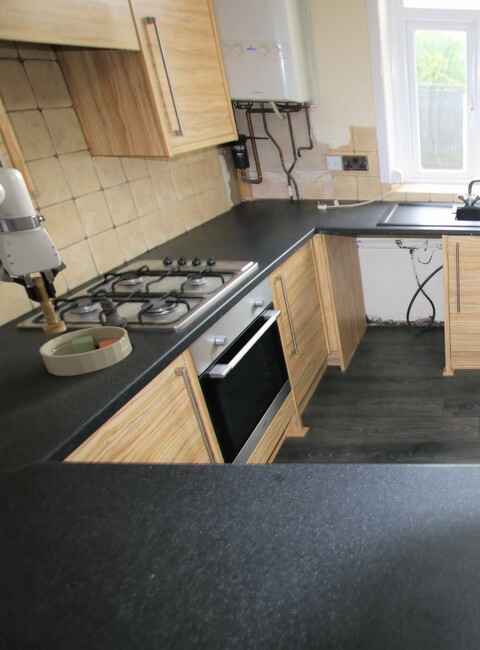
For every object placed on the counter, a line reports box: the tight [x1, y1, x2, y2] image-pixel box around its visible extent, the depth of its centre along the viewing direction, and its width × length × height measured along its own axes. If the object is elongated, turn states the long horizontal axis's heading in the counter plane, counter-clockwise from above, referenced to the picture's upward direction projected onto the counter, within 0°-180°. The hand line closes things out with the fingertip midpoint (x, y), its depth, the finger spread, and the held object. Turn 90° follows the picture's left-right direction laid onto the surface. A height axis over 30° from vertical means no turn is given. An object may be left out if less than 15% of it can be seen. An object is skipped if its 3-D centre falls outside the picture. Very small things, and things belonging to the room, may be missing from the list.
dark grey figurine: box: [99, 295, 128, 329], centre depth 136 cm, size 6×6×12 cm
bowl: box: [38, 326, 133, 377], centre depth 123 cm, size 17×17×6 cm
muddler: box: [31, 276, 67, 335], centre depth 115 cm, size 4×4×14 cm
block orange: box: [98, 338, 119, 349], centre depth 124 cm, size 4×4×4 cm
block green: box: [72, 335, 97, 354], centre depth 125 cm, size 4×4×4 cm
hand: (44, 298), depth 114 cm, fingers closed on muddler, 2 cm apart
